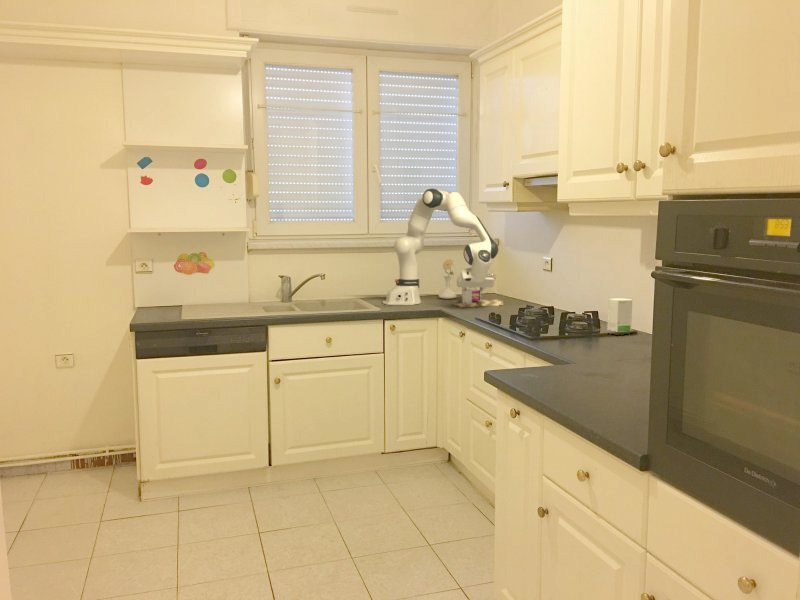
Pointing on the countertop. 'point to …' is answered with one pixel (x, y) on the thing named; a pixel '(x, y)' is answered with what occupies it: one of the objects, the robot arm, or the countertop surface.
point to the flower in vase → (447, 281)
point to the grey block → (466, 297)
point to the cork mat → (467, 305)
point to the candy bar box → (474, 293)
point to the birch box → (490, 302)
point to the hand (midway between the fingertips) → (472, 290)
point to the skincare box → (619, 314)
